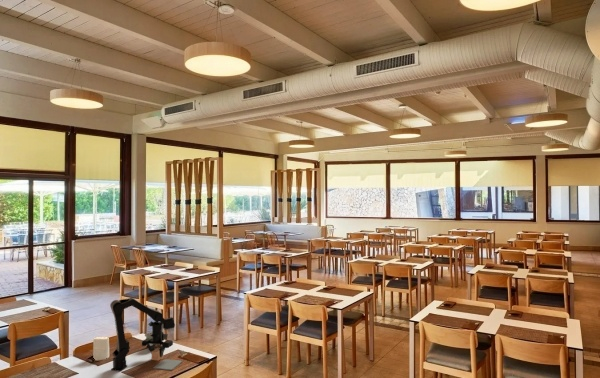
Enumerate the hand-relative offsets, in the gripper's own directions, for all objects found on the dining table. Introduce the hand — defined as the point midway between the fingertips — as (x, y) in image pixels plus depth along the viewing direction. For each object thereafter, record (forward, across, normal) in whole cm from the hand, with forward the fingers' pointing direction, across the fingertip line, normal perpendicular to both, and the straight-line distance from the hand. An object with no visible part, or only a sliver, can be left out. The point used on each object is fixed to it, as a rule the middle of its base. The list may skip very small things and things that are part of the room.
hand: (157, 356), depth 251 cm
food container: (+1, +12, -15) cm, 19 cm away
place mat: (+1, -12, +7) cm, 14 cm away
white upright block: (+1, +36, +6) cm, 37 cm away
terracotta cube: (+1, 0, 0) cm, 1 cm away
